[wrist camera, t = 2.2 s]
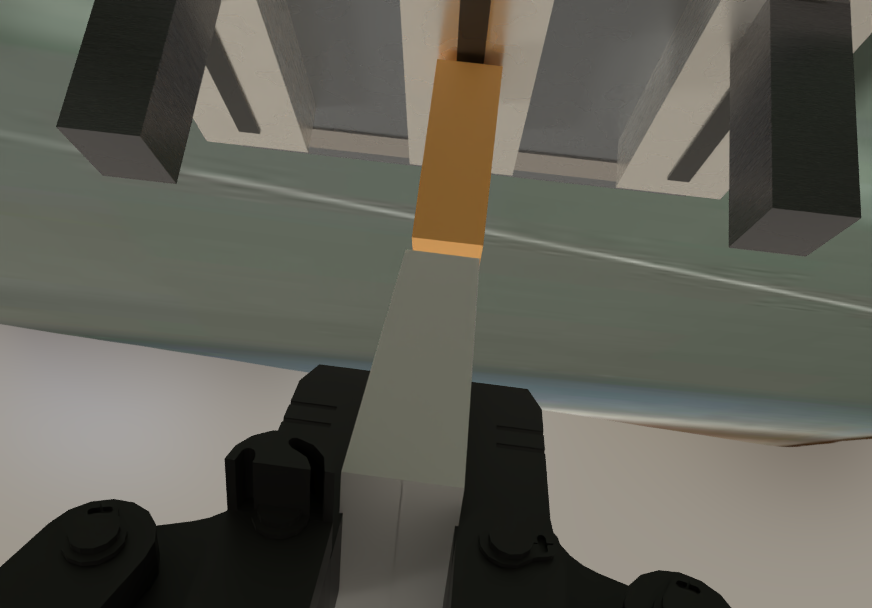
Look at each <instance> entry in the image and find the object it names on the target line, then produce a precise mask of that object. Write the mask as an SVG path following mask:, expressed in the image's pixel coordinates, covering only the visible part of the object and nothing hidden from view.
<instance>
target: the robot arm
mask: <svg viewBox="0 0 872 608" xmlns="http://www.w3.org/2000/svg"><path fill="white" fill-rule="evenodd" d="M479 262H480V259H479V258H471V257H463V256H455V255H447V254H439V253H431V252H423V251H415V250H407V249H406V250H405V253H404V257H403V260H402V264H401V267H400V271H399V274H398V278H397V281H396V284H395V288H394V291H393V295H392V298H391V302H390V305H389V309H388V312H387V316H386V319H385V322H384V326H383V329H382V333H381V336H380V340H379V343H378V347H377V350H376V354H375V357H374V360H373V364H372V367H371V371H366V370H359V369H351V368H343V367H335V366H328V365H320V364H319V365H318V366H317V367H316V368H315V369H313V370H312V371H311V372H310V373H308V374H307V375H306V376H305V377H303V378H302V379H301V380H300V381H299V383H298V386H297V388H296V390H295V393H294V395H293V397H292V399H291V404H290V405H289V407H288V409H287V411H286V413H285V415H284V420H283V422H281V425H280V427H279V430H278V431H269V432H265V433H261V434H257V435H254V436H251V437H249V438H248V439H246V440H244V441H242V442H241V443H239V444H237V445H236V446H235V447H234V448H233V449H232V450H231V452H230V453H229V454H228V455H227V456H226V458H225V473H226V490H227V506H228V510H227V511H226V512H223V513H221V514H218V515H215V516H213V517H210V518H206V519H201V520H197V521H192V522H183V523H175V524H167V525H158V526H156V524H155V522H154V520H153V518H152V517H151V515H150V513H149V511H147V510H145V509H144V508H142V507H140V506H139V505H137V504H135V503H133V502H127V501H122V500H116V499H111V500H102V501H93V502H89V503H86V504H84V505H81V506H78V507H75V508H73V509H70V510H68V511H66V512H65V513H63V514H62V515H61V516H59V517H57V518H56V519H55V520H53V521H52V522H50V523H49V524H48V525H46V526H45V527H44V528H43V529H42V530H41V531H40V532H39V533H38V534H36V535H35V536H34V537H33V538H32V539H31V540H30V541H29V542H28V543H27V544H25V545H24V546H23V547H22V548H21V549H20V550H19V551H18V552H17V553H15V554H14V555H13V556H12V557H11V558H10V559H9V560H8V561H6V562H5V563H4V564H3V565H2V566H1V567H0V608H731V607H730V606H729V605H728V603H727V602H726V601H725V600H724V599H723V597H722V596H721V595H720V594H719V593H717V592H716V591H714V590H713V589H711V588H710V587H708V586H707V585H706V584H705V583H703V582H702V581H700V580H697V579H695V578H692V577H690V576H687V575H685V574H682V573H679V572H670V571H660V570H658V571H654V572H650V573H647V574H643V575H640V576H639V577H638V578H637V579H636V580H635V581H634V582H633V583H631V584H630V585H629V586H628V585H625V584H623V583H620V582H617V581H616V580H613V579H610V578H608V577H606V576H603V575H601V574H598V573H596V572H595V571H593V570H591V569H589V568H587V567H585V566H583V565H582V564H580V563H579V562H578V561H577V560H575V559H574V558H573V557H571V556H570V555H569V554H568V553H567V552H566V550H565V549H564V548H563V547H562V546H561V545H560V543H559V540H558V538H557V536H556V535H555V534H554V533H553V529H552V525H551V521H550V510H549V498H548V484H547V471H546V459H545V454H544V450H545V447H544V436H543V421H542V409H541V408H540V406H539V405H538V403H537V402H536V401H535V399H534V398H533V396H532V395H531V393H530V392H529V390H528V389H522V388H515V387H507V386H499V385H491V384H484V383H476V382H471V381H472V366H473V351H474V336H475V321H476V306H477V291H478V276H479Z"/></svg>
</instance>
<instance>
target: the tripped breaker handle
mask: <svg viewBox="0 0 872 608" xmlns="http://www.w3.org/2000/svg"><path fill="white" fill-rule="evenodd" d="M502 69H503V66H496V65H487V64H478V63H469V62H460V61H450V60H441V59H437V63H436V70H435V77H434V84H433V92H432V99H431V106H430V113H429V120H428V127H427V134H426V141H425V148H424V156H423V163H422V170H421V177H420V184H419V191H418V198H417V205H416V212H415V220H414V227H413V234H412V245H413V250H415V251H423V252H431V253H439V254H447V255H455V256H463V257H471V258H479V259H481V254H482V249H483V242H484V233H485V223H486V214H487V205H488V196H489V187H490V178H491V169H492V160H493V151H494V142H495V133H496V124H497V115H498V105H499V96H500V87H501V78H502ZM479 264H480V262H479Z"/></svg>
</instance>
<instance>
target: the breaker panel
mask: <svg viewBox="0 0 872 608" xmlns="http://www.w3.org/2000/svg"><path fill="white" fill-rule="evenodd" d="M871 33H872V0H95V1H94V5H93V8H92V11H91V14H90V18H89V21H88V24H87V28H86V31H85V34H84V37H83V41H82V44H81V47H80V50H79V54H78V57H77V60H76V63H75V67H74V70H73V73H72V77H71V80H70V83H69V86H68V90H67V93H66V96H65V99H64V103H63V106H62V109H61V112H60V116H59V119H58V122H57V126H56V127H57V128H58V129H59V130H60V131H61V132H62V133H63V135H64V136H65V137H66V138H67V139H68V140H69V141H70V142H71V143H72V144H73V145H74V146H75V147H76V148H77V149H78V150H79V151H80V152H81V153H82V154H83V155H84V156H85V157H86V158H87V159H88V160H89V162H90V163H91V164H92V165H93V166H94V167H95V168H96V169H97V170H98V171H99V172H100V173H101V174H102V175H103V176H112V177H121V178H129V179H138V180H147V181H156V182H164V183H173V184H177V179H178V175H179V171H180V167H181V163H182V159H183V155H184V151H185V147H186V143H187V139H188V135H189V131H190V127H191V123H192V119H194V120H195V122H196V124H197V125H198V127H199V129H200V130H201V132H202V134H203V135H204V137H205V139H206V140H207V141H210V142H219V143H228V144H237V145H242V146H246V147H255V148H263V149H272V150H281V151H290V152H299V153H308V154H316V155H325V156H334V157H343V158H352V159H361V160H369V161H378V162H387V163H396V164H405V165H414V166H422V163H423V156H424V148H425V141H426V134H427V127H428V120H429V113H430V106H431V99H432V92H433V84H434V77H435V70H436V63H437V59H441V60H450V61H460V62H469V63H478V64H487V65H496V66H503V69H502V78H501V87H500V96H499V105H498V115H497V124H496V133H495V142H494V151H493V160H492V169H491V174H493V175H502V176H511V177H519V178H528V179H537V180H546V181H555V182H564V183H572V184H581V185H590V186H599V187H608V188H617V189H625V190H634V191H643V192H652V193H661V194H669V195H678V196H686V195H687V196H696V197H705V198H714V199H721V198H722V197H723V195H724V194H725V193H726V192H727V191H728V190H729V248H738V249H746V250H755V251H764V252H772V253H781V254H790V255H799V256H807V255H809V254H810V253H812V252H813V251H814V250H816V249H817V248H819V247H820V246H822V245H823V244H825V243H826V242H827V241H829V240H830V239H832V238H833V237H835V236H836V235H838V234H839V233H840V232H842V231H843V230H845V229H846V228H848V227H849V226H850V225H852V224H853V223H855V222H856V221H858V220H859V219H861V205H860V185H859V165H858V145H857V125H856V105H855V85H854V66H853V53H854V52H855V51H856V50H857V48H858V47H859V46H860V45H861V44H862V43H863V42H864V41H865V40H866V39H867V38H868V36H869V35H870V34H871Z"/></svg>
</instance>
